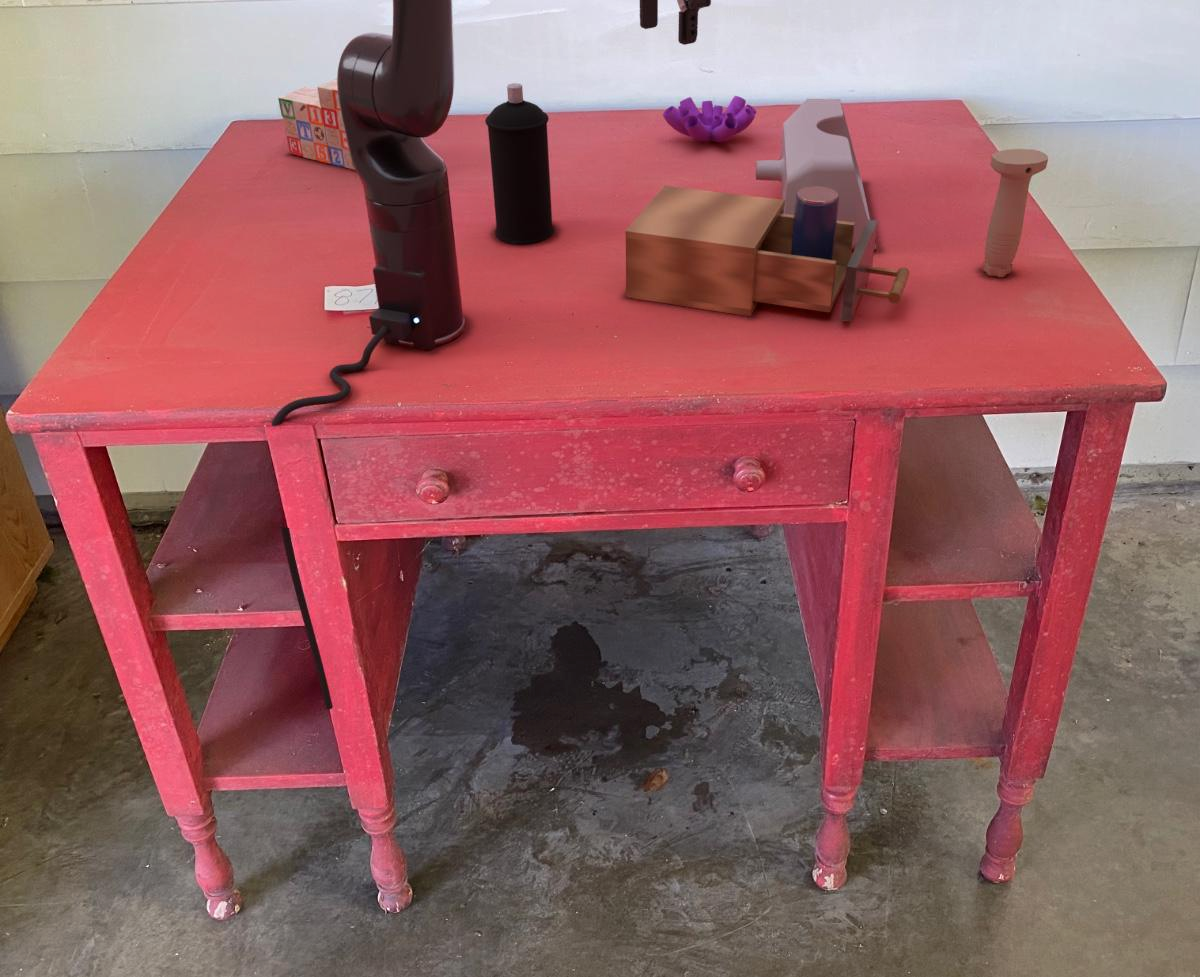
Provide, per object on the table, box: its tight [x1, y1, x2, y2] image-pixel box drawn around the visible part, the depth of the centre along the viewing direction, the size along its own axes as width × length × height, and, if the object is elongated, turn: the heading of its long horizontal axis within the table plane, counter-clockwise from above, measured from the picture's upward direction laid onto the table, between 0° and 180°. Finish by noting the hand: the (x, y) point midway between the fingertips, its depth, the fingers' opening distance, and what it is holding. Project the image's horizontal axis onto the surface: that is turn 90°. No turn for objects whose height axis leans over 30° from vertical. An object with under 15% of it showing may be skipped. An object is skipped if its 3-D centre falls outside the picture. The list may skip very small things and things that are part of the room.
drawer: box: [753, 213, 910, 323], centre depth 134 cm, size 20×14×7 cm
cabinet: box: [624, 185, 785, 317], centre depth 139 cm, size 16×15×9 cm
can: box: [791, 186, 839, 260], centre depth 133 cm, size 5×5×11 cm
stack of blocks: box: [277, 78, 355, 171], centre depth 175 cm, size 21×6×12 cm, turn 58°
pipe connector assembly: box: [662, 95, 757, 143], centre depth 179 cm, size 11×15×10 cm
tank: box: [755, 98, 877, 251], centre depth 153 cm, size 25×16×12 cm, turn 174°
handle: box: [982, 148, 1049, 278], centre depth 137 cm, size 5×6×15 cm
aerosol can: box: [484, 82, 555, 246], centre depth 148 cm, size 8×8×20 cm
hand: (667, 35), depth 138 cm, fingers open, 8 cm apart
